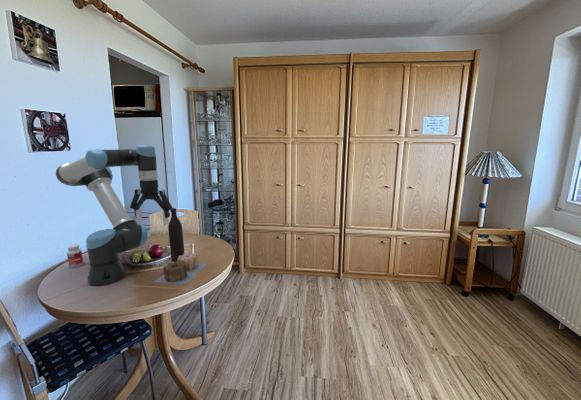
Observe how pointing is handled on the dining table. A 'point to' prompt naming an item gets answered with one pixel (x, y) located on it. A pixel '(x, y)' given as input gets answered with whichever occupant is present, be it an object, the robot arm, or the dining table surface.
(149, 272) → the dining table surface
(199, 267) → the gear board
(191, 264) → the gear
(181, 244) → the wine bottle
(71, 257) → the pill bottle
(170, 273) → the gear
